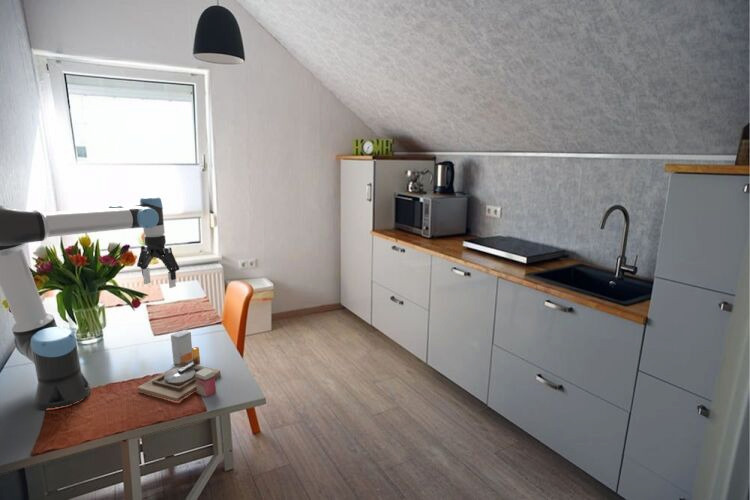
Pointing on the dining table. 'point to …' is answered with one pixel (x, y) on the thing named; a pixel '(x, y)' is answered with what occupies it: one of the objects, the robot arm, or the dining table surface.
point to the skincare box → (181, 347)
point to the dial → (183, 371)
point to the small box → (205, 382)
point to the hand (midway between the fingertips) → (159, 285)
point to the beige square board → (172, 391)
